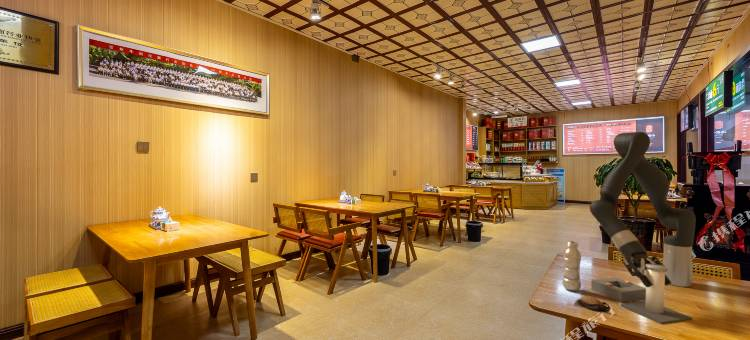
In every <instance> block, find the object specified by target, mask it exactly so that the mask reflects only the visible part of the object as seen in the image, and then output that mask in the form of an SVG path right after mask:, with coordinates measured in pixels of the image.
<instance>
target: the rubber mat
mask: <svg viewBox="0 0 750 340" xmlns="http://www.w3.org/2000/svg"><path fill="white" fill-rule="evenodd" d="M645 304H646V300H643V301H637V302H629V303H627V302H626V303H620V304H619V305H620V307H622V308H623V309H624V308H625V309H626V310H628V311H631V312H633V313H635V314H637V315H640V316H641V317H644V318H646V319H649V320H651V321H653V322H655V323H658V324H660V325H663V324H670V323H678V322H684V321H691V320H693V317H691V316H690V315H686V314H684V313H682V312H680V311H679V312H678V311H676V310H674V309H671V308H668V307H666V306H664V313H663V314H658V313H653V312H650V311H648V310H646V309H645Z"/></svg>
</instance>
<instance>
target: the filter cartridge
mask: <svg viewBox="0 0 750 340" xmlns="http://www.w3.org/2000/svg"><path fill="white" fill-rule="evenodd" d="M646 268H647V270H645V271H646V274H645V275H646V276H647V277H648V279H649V280H650V281H651V283H652V284H653V285H652V286H650V287H646V286H645V288H646V299H645V301H646V304H645V309H646V310H648V311H650V312H653V313H658V314H663V313H664V307H665V289H666V288H665V286H666V285H665V271H666V267H665V266H662V265H658V264H651V263H647V264H646Z"/></svg>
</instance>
